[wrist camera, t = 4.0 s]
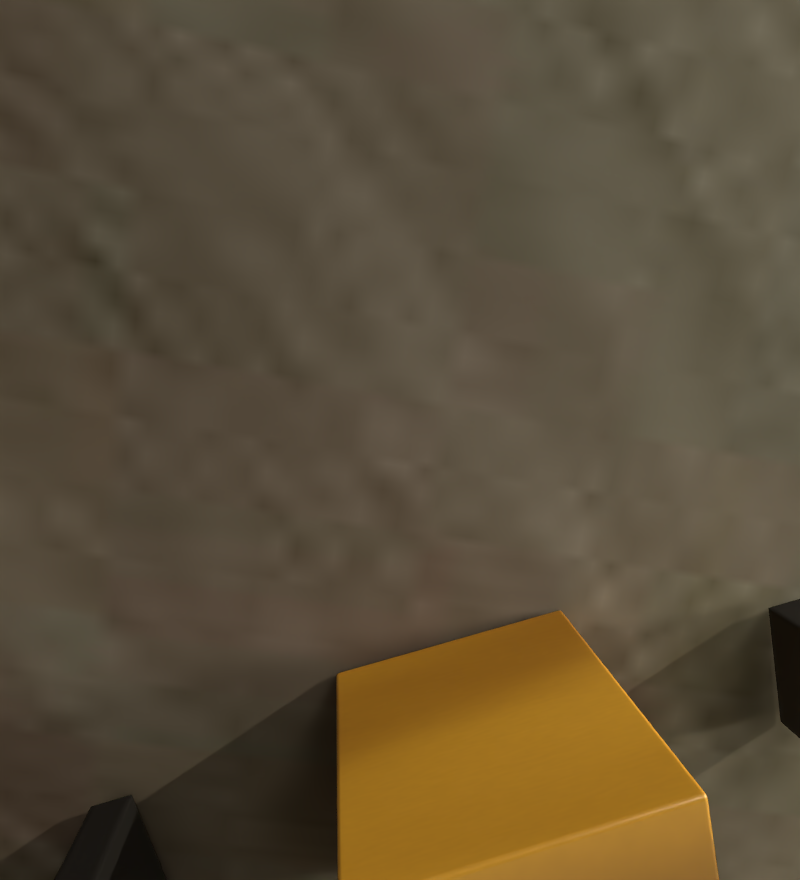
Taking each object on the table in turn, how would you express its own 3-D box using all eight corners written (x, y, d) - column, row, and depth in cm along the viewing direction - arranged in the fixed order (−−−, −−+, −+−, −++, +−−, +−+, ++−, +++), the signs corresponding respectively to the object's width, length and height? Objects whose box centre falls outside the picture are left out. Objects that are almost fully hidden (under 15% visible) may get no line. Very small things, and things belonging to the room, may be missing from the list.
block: (334, 672, 11) (336, 911, 6) (560, 607, 11) (710, 796, 7) (391, 858, 12) (425, 1176, 7) (597, 796, 12) (747, 1065, 8)
